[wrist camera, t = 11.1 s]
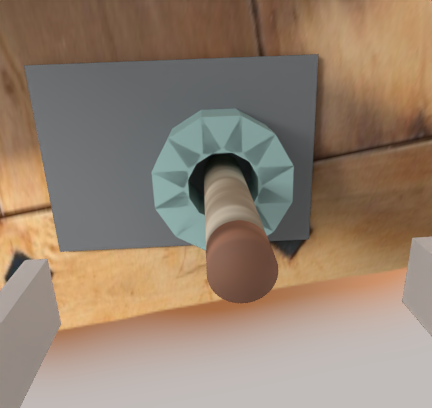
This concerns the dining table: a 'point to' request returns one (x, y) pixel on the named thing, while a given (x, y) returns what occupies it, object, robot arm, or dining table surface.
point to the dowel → (235, 235)
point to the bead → (220, 143)
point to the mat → (158, 137)
